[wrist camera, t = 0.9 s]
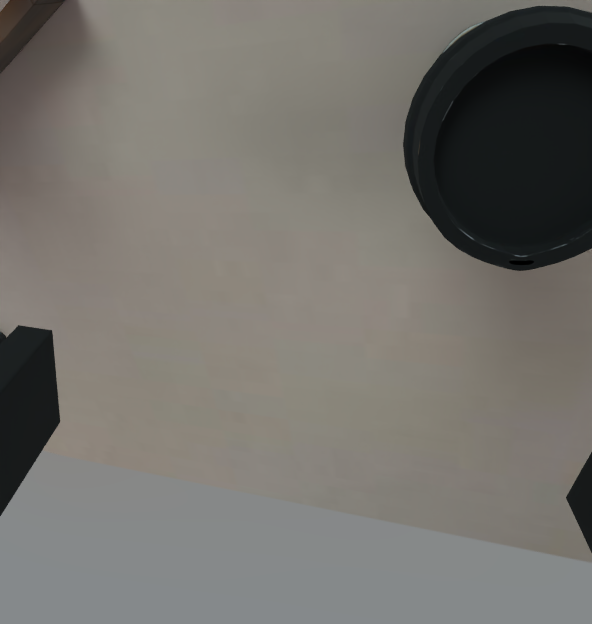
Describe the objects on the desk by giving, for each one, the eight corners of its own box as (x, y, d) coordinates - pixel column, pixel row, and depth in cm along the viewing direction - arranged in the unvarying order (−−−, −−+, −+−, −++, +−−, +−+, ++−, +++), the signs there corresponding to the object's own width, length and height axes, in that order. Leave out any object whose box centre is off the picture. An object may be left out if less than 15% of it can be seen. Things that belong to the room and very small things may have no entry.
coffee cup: (409, 160, 33) (399, 276, 21) (411, -1, 29) (401, 23, 16) (560, 155, 31) (650, 279, 19) (586, -18, 27) (724, -4, 15)
